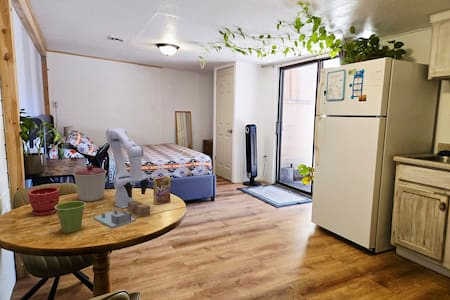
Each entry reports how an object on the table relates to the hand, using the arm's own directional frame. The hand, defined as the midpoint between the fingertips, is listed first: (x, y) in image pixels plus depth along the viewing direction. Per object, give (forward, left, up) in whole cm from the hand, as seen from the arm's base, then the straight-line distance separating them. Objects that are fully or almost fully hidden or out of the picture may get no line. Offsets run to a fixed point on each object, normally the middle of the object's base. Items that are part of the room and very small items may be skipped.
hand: (136, 195), depth 142 cm
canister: (-41, -5, -9) cm, 42 cm away
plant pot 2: (-2, -31, -9) cm, 32 cm away
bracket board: (+1, -13, -9) cm, 16 cm away
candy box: (-3, +18, -9) cm, 20 cm away
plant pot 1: (-35, -31, -9) cm, 48 cm away
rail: (+1, 0, -9) cm, 9 cm away
